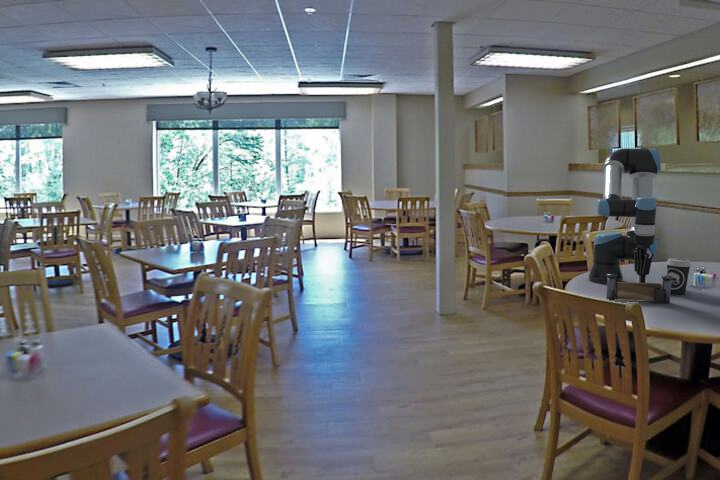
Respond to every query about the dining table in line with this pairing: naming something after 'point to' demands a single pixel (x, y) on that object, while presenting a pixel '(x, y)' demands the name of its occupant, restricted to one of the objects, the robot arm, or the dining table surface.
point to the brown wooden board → (636, 291)
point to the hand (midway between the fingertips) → (640, 289)
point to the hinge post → (611, 286)
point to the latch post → (663, 291)
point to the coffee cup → (678, 275)
